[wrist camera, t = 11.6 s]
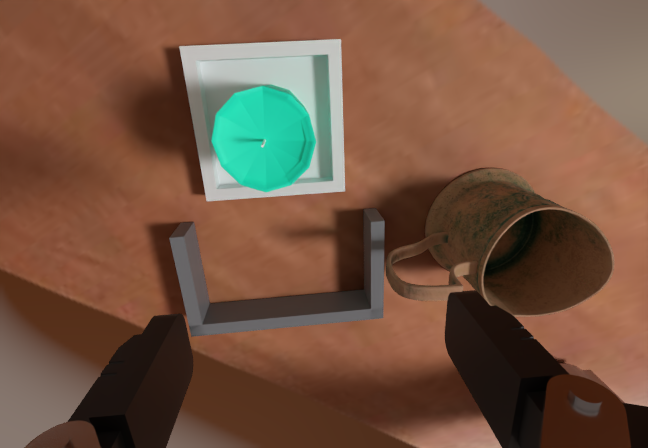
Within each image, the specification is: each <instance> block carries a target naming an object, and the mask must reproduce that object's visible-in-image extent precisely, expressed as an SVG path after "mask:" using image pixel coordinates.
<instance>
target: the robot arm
mask: <svg viewBox="0 0 648 448" xmlns="http://www.w3.org/2000/svg"><path fill="white" fill-rule="evenodd" d="M445 343H446V348H447V351H448V354H449V356H450V358H451V360H452V361H453V363H454V365H455V367H456V368H457V370H458V372H459V373H460V375H461V377H462V379H463V380H464V382H465V384H466V386H467V387H468V389H469V391H470V393H471V394H472V396H473V398H474V399H475V401H476V403H477V405H478V406H479V408H480V410H481V412H482V413H483V415H484V417H485V419H486V420H487V422H488V424H489V425H490V427H491V429H492V431H493V432H494V434H495V436H496V438H497V439H498V441H499V443H500V445H501V446H502V448H648V407H646V406H640V405H633V404H627V403H625V402H623V401H622V400H621V399H620V398H619V397H618V396H617V395H616V394H615V393H614V392H613V391H612V390H611V389H610V388H609V387H608V386H607V385H606V384H605V383H604V382H603V381H601V380H600V379H599V378H598V377H597V376H596V375H595V374H594V373H593V372H592V371H591V370H581V369H579V368H578V367H576V366H574V365H570V364H563V363H560V364H559V363H558V362H557V361H556V360H555V359H554V357H553V356H552V355H551V354H550V353H549V352H548V351H547V350H546V349H545V348H544V347H543V346H542V345H541V344H540V343H539V342H538V341H537V340H536V339H534V338H533V336H532V335H531V334H530V333H529V332H528V331H527V329H524V326H523V325H522V324H521V323H520V322H519V321H518V320H517V319H516V318H515V317H514V316H513V315H512V314H510V313H508V312H507V311H505V310H503V309H501V308H500V307H498V306H496V305H495V306H490V305H489V304H488V302H487V301H486V300H485V299H484V298H483V297H482V296H481V295H480V294H479V293H478V292H477V291H475V290H474V291H462V292H451V293H450V294H449V296H448V301H447V313H446V326H445ZM192 372H193V355H192V351H191V346H190V341H189V337H188V332H187V328H186V323H185V319H184V317H183V315H182V314H171V315H159V316H154V317H153V318H152V319H151V320H150V322H149V324H148V325H147V327H146V328H145V330H144V331H143V333H142V334H140V335H134V336H133V337H132V338H130V339H129V340H128V341H127V342H125V343H124V344H123V345H122V346H120V347H119V348H118V350H117V351H116V353H115V354H114V355H113V357H112V358H111V360H110V361H109V365H107V366H106V367H105V368H104V370H103V371H102V373H101V376H100V377H98V379H97V380H96V381H95V383H94V384H93V386H92V387H91V389H90V390H89V392H88V393H87V394H86V396H85V398H84V399H83V400H82V402H81V403H80V405H79V406H78V407H77V409H76V410H75V412H74V413H73V415H72V416H71V418H70V419H69V420H68V422H66V423H63V424H60V425H57V426H55V427H53V428H51V429H49V430H47V431H45V432H43V433H42V434H40V435H39V436H37V437H36V438H35V439H33V440H32V441H31V442H30V443H29V444H28V445H27V446H26V447H24V448H166V446H167V443H168V440H169V438H170V435H171V432H172V429H173V427H174V424H175V421H176V418H177V416H178V413H179V410H180V408H181V405H182V402H183V399H184V397H185V394H186V391H187V389H188V386H189V383H190V380H191V377H192Z"/></svg>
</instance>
